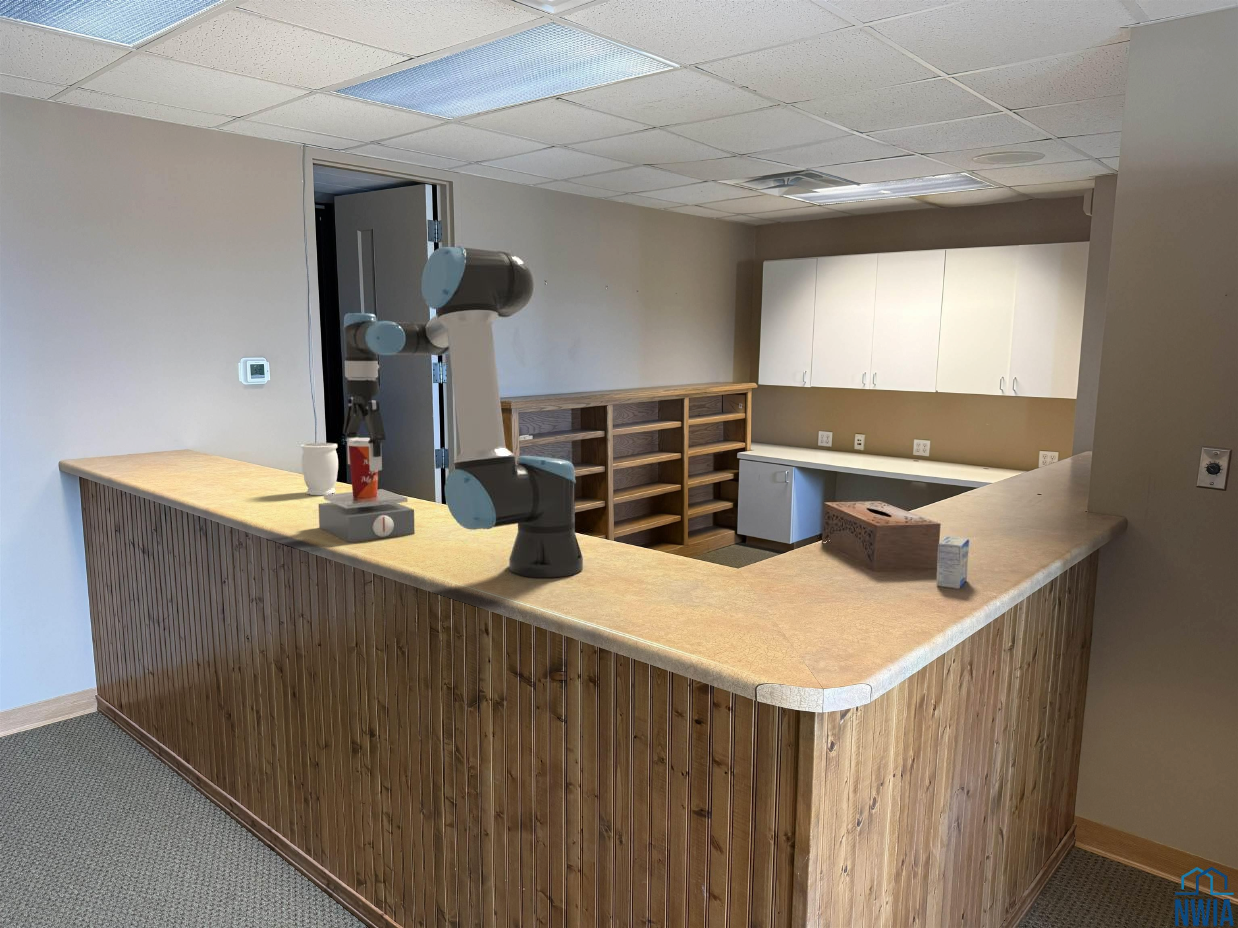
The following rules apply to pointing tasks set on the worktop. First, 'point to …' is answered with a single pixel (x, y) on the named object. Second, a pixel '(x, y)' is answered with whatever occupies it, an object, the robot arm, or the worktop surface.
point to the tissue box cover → (881, 535)
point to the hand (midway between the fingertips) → (364, 467)
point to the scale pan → (365, 499)
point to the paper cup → (362, 469)
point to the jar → (320, 467)
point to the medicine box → (952, 562)
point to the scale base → (366, 521)
